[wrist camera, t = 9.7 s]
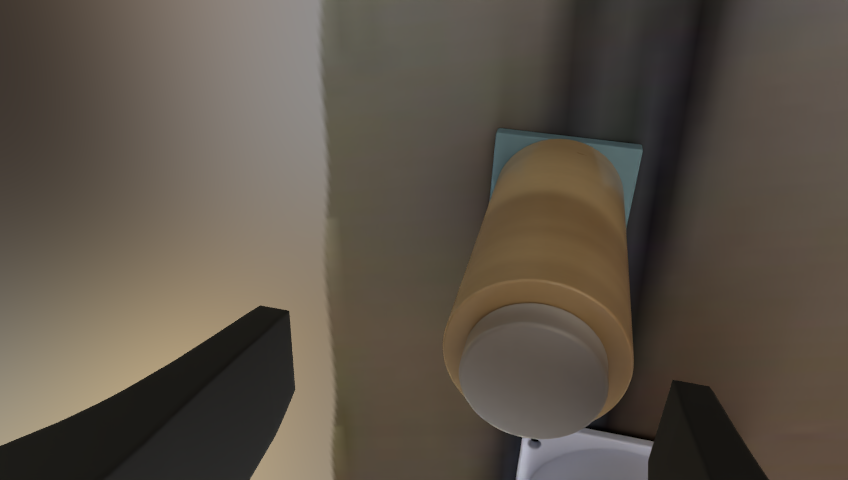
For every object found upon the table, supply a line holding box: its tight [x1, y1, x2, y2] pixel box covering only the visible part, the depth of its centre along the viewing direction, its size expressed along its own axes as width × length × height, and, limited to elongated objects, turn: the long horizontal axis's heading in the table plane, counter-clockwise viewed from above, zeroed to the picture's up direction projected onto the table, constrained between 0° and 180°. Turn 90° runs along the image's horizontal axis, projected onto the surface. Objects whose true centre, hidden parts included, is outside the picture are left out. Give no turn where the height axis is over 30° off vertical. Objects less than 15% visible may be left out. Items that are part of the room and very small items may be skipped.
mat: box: [489, 128, 643, 227], centre depth 22 cm, size 9×4×1 cm, turn 178°
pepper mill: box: [443, 139, 634, 439], centre depth 17 cm, size 4×4×9 cm
